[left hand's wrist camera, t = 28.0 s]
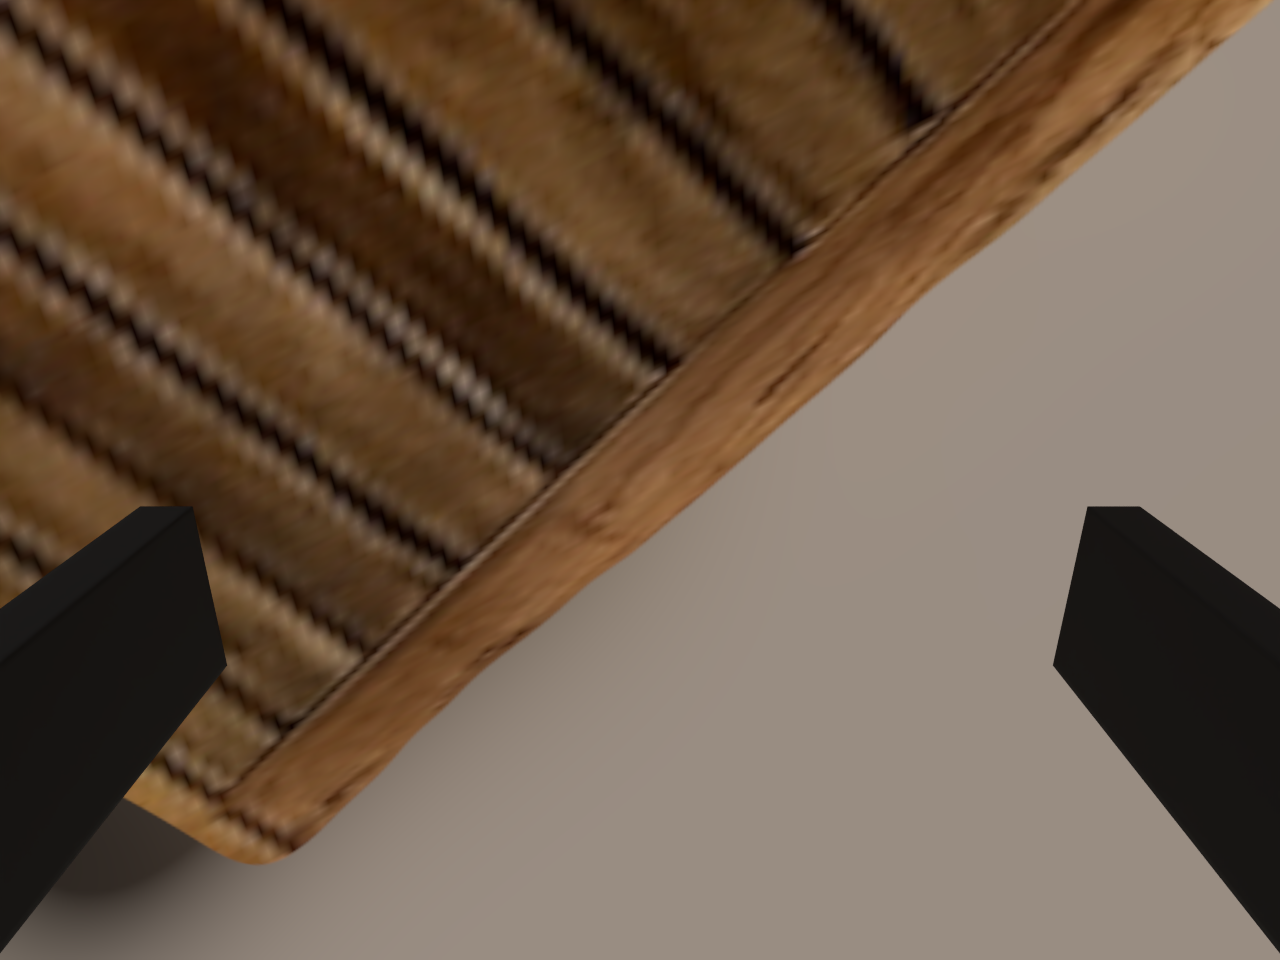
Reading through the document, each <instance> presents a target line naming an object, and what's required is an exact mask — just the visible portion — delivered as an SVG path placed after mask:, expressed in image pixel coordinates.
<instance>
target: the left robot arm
mask: <svg viewBox="0 0 1280 960" xmlns="http://www.w3.org/2000/svg"><path fill="white" fill-rule="evenodd" d="M226 666H227V663H226V658H225V654H224V649H223V644H222V640H221V635H220V631H219V626H218V621H217V617H216V612H215V608H214V603H213V599H212V594H211V589H210V585H209V580H208V576H207V571H206V566H205V562H204V557H203V553H202V548H201V544H200V539H199V534H198V530H197V525H196V521H195V516H194V511H193V507H139V508H138V509H136V510H135V511H133V512H132V513H131V514H129V515H128V516H127V517H125V518H124V519H122V520H121V521H120V522H118V523H117V524H116V525H114V526H113V527H111V528H110V529H109V530H107V531H106V532H105V533H103V534H102V535H101V536H99V537H98V538H96V539H95V540H94V541H92V542H91V543H90V544H88V545H87V546H85V547H84V548H83V549H81V550H80V551H79V552H77V553H76V554H75V555H73V556H72V557H70V558H69V559H68V560H66V561H65V562H64V563H62V564H61V565H59V566H58V567H57V568H55V569H54V570H53V571H51V572H50V573H48V574H47V575H46V576H44V577H43V578H42V579H40V580H39V581H38V582H36V583H35V584H33V585H32V586H31V587H29V588H28V589H27V590H25V591H24V592H22V593H21V594H20V595H18V596H17V597H16V598H14V599H13V600H12V601H10V602H9V603H7V604H6V605H5V606H3V607H2V608H1V609H0V953H1V951H2V950H3V949H4V948H5V946H6V945H7V944H8V943H9V941H10V940H11V939H12V938H13V936H14V935H15V934H16V932H17V931H18V930H19V929H20V927H21V926H22V925H23V924H24V922H25V921H26V920H27V918H28V917H29V916H30V915H31V913H32V912H33V911H34V910H35V908H36V907H37V906H38V905H39V903H40V902H41V901H42V899H43V898H44V897H45V896H46V894H47V893H48V892H49V891H50V889H51V888H52V887H53V885H54V884H55V883H56V882H57V880H58V879H59V878H60V877H61V875H62V874H63V873H64V872H65V870H66V869H67V868H68V866H69V865H70V864H71V863H72V861H73V860H74V859H75V858H76V856H77V855H78V854H79V853H80V851H81V850H82V849H83V847H84V846H85V845H86V844H87V842H88V841H89V840H90V839H91V837H92V836H93V835H94V833H95V832H96V831H97V830H98V828H99V827H100V826H101V825H102V823H103V822H104V821H105V819H106V818H107V817H108V816H109V814H110V813H111V812H112V811H113V809H114V808H115V807H116V806H117V804H118V803H119V802H120V801H121V799H122V798H123V797H124V795H125V794H126V793H127V792H128V790H129V789H130V788H131V787H132V785H133V784H134V783H135V782H136V780H137V779H138V778H139V776H140V775H141V774H142V773H143V771H144V770H145V769H146V768H147V766H148V765H149V764H150V762H151V761H152V760H153V759H154V757H155V756H156V755H157V754H158V752H159V751H160V750H161V749H162V747H163V746H164V745H165V743H166V742H167V741H168V740H169V738H170V737H171V736H172V735H173V733H174V732H175V731H176V730H177V728H178V727H179V726H180V724H181V723H182V722H183V721H184V719H185V718H186V717H187V716H188V714H189V713H190V712H191V710H192V709H193V708H194V707H195V705H196V704H197V703H198V702H199V700H200V699H201V698H202V697H203V695H204V694H205V693H206V691H207V690H208V689H209V688H210V686H211V685H212V684H213V683H214V681H215V680H216V679H217V677H218V676H219V675H220V674H221V672H222V671H223V670H224V669H225V667H226ZM1053 666H1054V667H1055V669H1056V670H1057V671H1058V672H1059V674H1060V675H1061V676H1062V677H1063V679H1064V680H1065V681H1066V683H1067V684H1068V685H1069V686H1070V688H1071V689H1072V690H1073V691H1074V693H1075V694H1076V695H1077V696H1078V698H1079V699H1080V700H1081V702H1082V703H1083V704H1084V705H1085V707H1086V708H1087V709H1088V710H1089V712H1090V713H1091V714H1092V716H1093V717H1094V718H1095V719H1096V721H1097V722H1098V723H1099V724H1100V726H1101V727H1102V728H1103V729H1104V731H1105V732H1106V733H1107V735H1108V736H1109V737H1110V738H1111V740H1112V741H1113V742H1114V743H1115V745H1116V746H1117V747H1118V749H1119V750H1120V751H1121V752H1122V754H1123V755H1124V756H1125V757H1126V759H1127V760H1128V761H1129V762H1130V764H1131V765H1132V766H1133V768H1134V769H1135V770H1136V771H1137V773H1138V774H1139V775H1140V776H1141V778H1142V779H1143V780H1144V782H1145V783H1146V784H1147V785H1148V787H1149V788H1150V789H1151V790H1152V792H1153V793H1154V794H1155V795H1156V797H1157V798H1158V799H1159V801H1160V802H1161V803H1162V804H1163V806H1164V807H1165V808H1166V809H1167V811H1168V812H1169V813H1170V814H1171V816H1172V817H1173V818H1174V820H1175V821H1176V822H1177V823H1178V825H1179V826H1180V827H1181V828H1182V830H1183V831H1184V832H1185V833H1186V835H1187V836H1188V837H1189V839H1190V840H1191V841H1192V842H1193V844H1194V845H1195V846H1196V847H1197V849H1198V850H1199V851H1200V853H1201V854H1202V855H1203V856H1204V858H1205V859H1206V860H1207V861H1208V863H1209V864H1210V865H1211V866H1212V868H1213V869H1214V870H1215V872H1216V873H1217V874H1218V875H1219V877H1220V878H1221V879H1222V880H1223V882H1224V883H1225V884H1226V885H1227V887H1228V888H1229V889H1230V891H1231V892H1232V893H1233V894H1234V896H1235V897H1236V898H1237V899H1238V901H1239V902H1240V903H1241V904H1242V906H1243V907H1244V908H1245V910H1246V911H1247V912H1248V913H1249V915H1250V916H1251V917H1252V919H1253V920H1254V921H1255V922H1256V924H1257V925H1258V926H1259V927H1260V929H1261V930H1262V931H1263V932H1264V934H1265V935H1266V936H1267V938H1268V939H1269V940H1270V941H1271V943H1272V944H1273V945H1274V946H1275V948H1276V949H1277V950H1278V951H1279V953H1280V609H1279V608H1278V607H1277V606H1275V605H1274V604H1273V603H1271V602H1270V601H1268V600H1267V599H1266V598H1264V597H1263V596H1262V595H1260V594H1259V593H1258V592H1256V591H1255V590H1253V589H1252V588H1251V587H1249V586H1248V585H1247V584H1245V583H1244V582H1242V581H1241V580H1240V579H1238V578H1237V577H1236V576H1234V575H1233V574H1231V573H1230V572H1229V571H1227V570H1226V569H1225V568H1223V567H1222V566H1221V565H1219V564H1218V563H1216V562H1215V561H1214V560H1212V559H1211V558H1210V557H1208V556H1207V555H1205V554H1204V553H1203V552H1201V551H1200V550H1199V549H1197V548H1196V547H1194V546H1193V545H1192V544H1190V543H1189V542H1188V541H1186V540H1185V539H1184V538H1182V537H1181V536H1179V535H1178V534H1177V533H1175V532H1174V531H1173V530H1171V529H1170V528H1169V527H1167V526H1166V525H1164V524H1163V523H1162V522H1160V521H1159V520H1157V519H1156V518H1155V517H1153V516H1152V515H1151V514H1149V513H1148V512H1147V511H1145V510H1144V509H1142V508H1141V507H1087V511H1086V516H1085V521H1084V525H1083V530H1082V534H1081V539H1080V544H1079V548H1078V553H1077V557H1076V562H1075V567H1074V571H1073V576H1072V580H1071V585H1070V590H1069V594H1068V599H1067V603H1066V608H1065V612H1064V617H1063V621H1062V626H1061V631H1060V635H1059V640H1058V645H1057V649H1056V654H1055V658H1054V663H1053Z"/></svg>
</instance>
